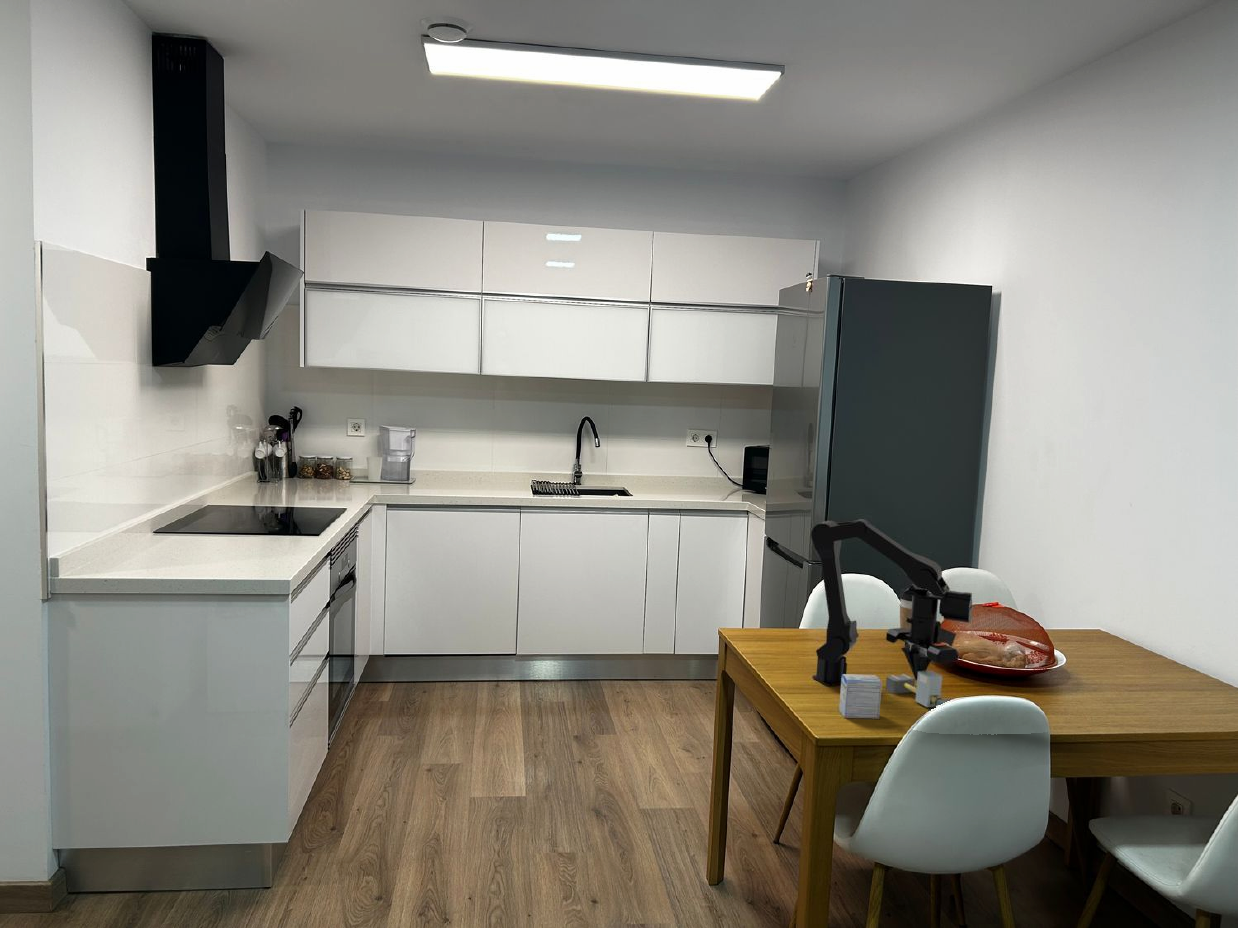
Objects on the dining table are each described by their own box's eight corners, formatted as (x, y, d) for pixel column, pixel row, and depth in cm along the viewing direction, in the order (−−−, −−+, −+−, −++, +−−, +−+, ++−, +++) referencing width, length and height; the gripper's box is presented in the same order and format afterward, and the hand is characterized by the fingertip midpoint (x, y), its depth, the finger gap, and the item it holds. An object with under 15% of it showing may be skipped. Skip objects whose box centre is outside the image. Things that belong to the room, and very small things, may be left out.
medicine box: (873, 712, 207) (876, 674, 206) (879, 719, 203) (882, 681, 202) (838, 710, 207) (841, 673, 206) (843, 718, 202) (846, 679, 201)
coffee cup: (892, 641, 265) (897, 590, 263) (898, 634, 272) (903, 584, 271) (923, 646, 261) (927, 594, 259) (928, 639, 268) (932, 589, 267)
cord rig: (940, 718, 205) (941, 703, 205) (885, 689, 222) (886, 675, 222) (961, 716, 207) (962, 700, 207) (905, 687, 225) (906, 673, 224)
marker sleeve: (927, 707, 211) (929, 677, 210) (915, 701, 214) (917, 671, 214) (939, 705, 212) (942, 675, 211) (927, 699, 216) (930, 670, 215)
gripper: (980, 624, 209) (974, 690, 211) (924, 603, 226) (918, 665, 228) (941, 627, 205) (935, 695, 207) (887, 605, 222) (882, 668, 224)
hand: (918, 680), depth 216 cm, fingers closed
